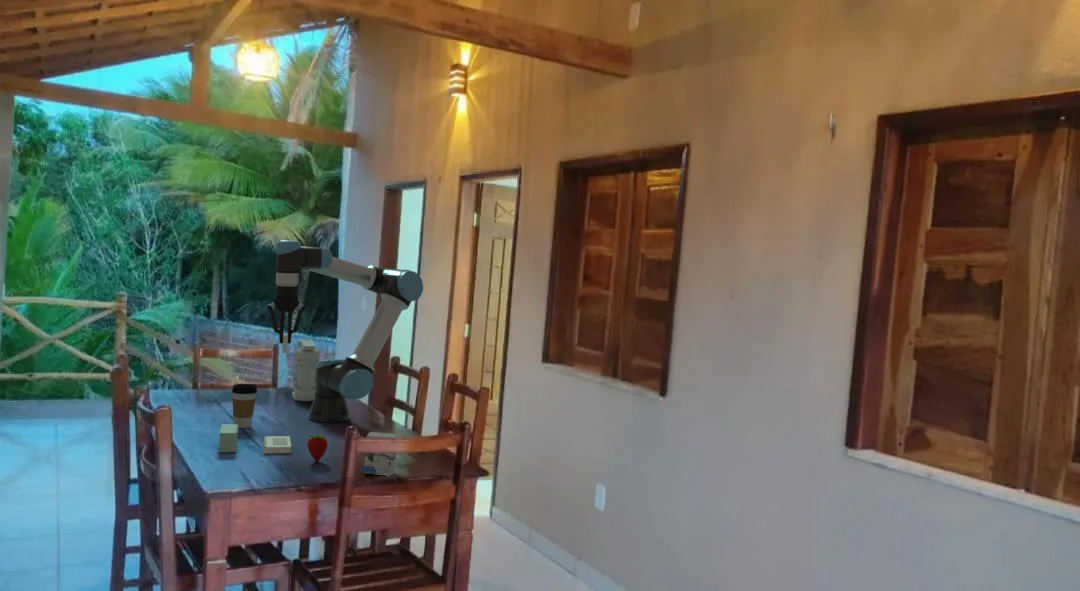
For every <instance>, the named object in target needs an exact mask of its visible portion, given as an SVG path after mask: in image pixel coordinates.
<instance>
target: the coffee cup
mask: <svg viewBox="0 0 1080 591" xmlns="http://www.w3.org/2000/svg"><path fill="white" fill-rule="evenodd" d="M231 393H232V416H233V417H232V419H233V424H238V429H247V428H251V427H252V424H253V423H252V422H253V418H254V411H255V406H256V405H255V404H256V394H257V393H258V389H257V384H255V383H253V384H249V383H238V384H237V383H236V384H233V386H232V389H231Z"/></svg>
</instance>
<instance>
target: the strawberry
mask: <svg viewBox="0 0 1080 591" xmlns="http://www.w3.org/2000/svg"><path fill="white" fill-rule="evenodd" d="M315 431H316V432H317V434H316V435H309V439H308V440H307V449H308V452H309V454H310V456H311V457H312V459H313V461H314V462H316V463H319V461H320V460H321V459H322V457H323V456H324V455H325V453H326V452H327V448H328V440H327V439H326V436H327V435H325V434H324V435H323V434H322V435H320V434H319V432H318V430H317V429H315Z"/></svg>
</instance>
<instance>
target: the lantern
mask: <svg viewBox="0 0 1080 591" xmlns="http://www.w3.org/2000/svg"><path fill="white" fill-rule="evenodd" d="M299 340H300V341H298V346H299V348H297V349H294V354H295V361H294V362H295V363H294V364H293V375H292V389H293V392H291V394H292V395H291V396H292V397H291V398H292V399H293V400H295V401H299V402H310V401H312V402H313V401H314V398H315V384H316V367H317V363H318V361H319V360H320V355H321V350H320V349H316V345H315V343H314V341H313V339H309V338H308V339H307V338H300V339H299Z"/></svg>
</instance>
